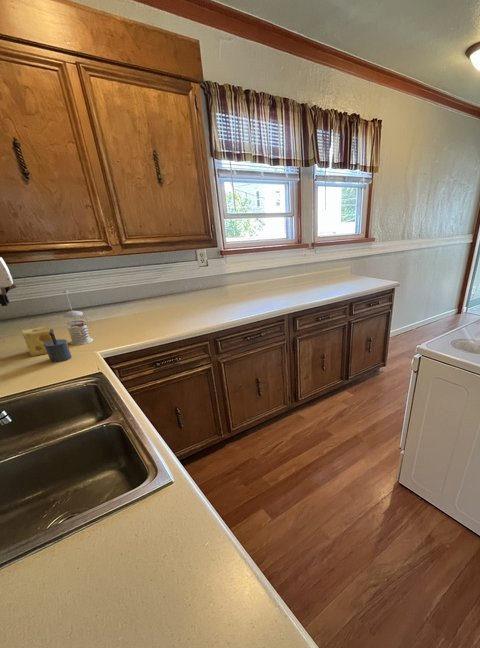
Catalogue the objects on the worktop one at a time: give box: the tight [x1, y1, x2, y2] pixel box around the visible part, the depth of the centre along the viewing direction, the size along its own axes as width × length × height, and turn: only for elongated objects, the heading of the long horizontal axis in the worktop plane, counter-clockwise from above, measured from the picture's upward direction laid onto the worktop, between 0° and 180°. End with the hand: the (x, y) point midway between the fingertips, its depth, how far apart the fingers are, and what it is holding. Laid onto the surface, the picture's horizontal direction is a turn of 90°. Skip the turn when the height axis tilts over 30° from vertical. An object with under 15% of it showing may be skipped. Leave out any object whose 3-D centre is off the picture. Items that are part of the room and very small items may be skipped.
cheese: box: [21, 326, 52, 357], centre depth 148 cm, size 10×11×10 cm
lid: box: [43, 328, 68, 347], centre depth 136 cm, size 8×8×6 cm
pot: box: [45, 342, 73, 363], centre depth 139 cm, size 8×8×8 cm
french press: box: [62, 289, 94, 346], centre depth 156 cm, size 10×12×25 cm
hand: (5, 305), depth 124 cm, fingers closed
